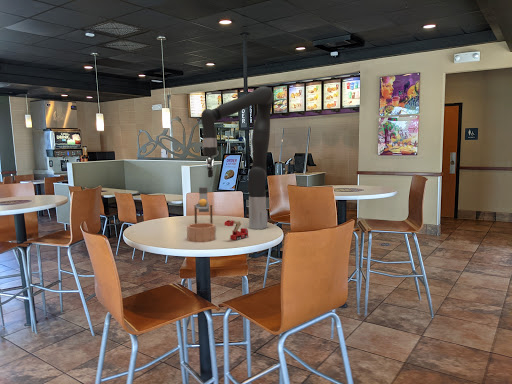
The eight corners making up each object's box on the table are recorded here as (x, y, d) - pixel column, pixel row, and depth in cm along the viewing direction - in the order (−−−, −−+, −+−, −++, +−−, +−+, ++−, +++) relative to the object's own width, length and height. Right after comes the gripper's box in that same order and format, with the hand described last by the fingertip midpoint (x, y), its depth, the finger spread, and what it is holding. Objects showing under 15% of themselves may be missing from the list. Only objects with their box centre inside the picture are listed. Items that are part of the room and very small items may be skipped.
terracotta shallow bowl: (220, 237, 185) (220, 224, 184) (203, 243, 174) (203, 229, 173) (199, 234, 191) (199, 222, 191) (181, 239, 180) (181, 226, 180)
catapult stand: (193, 229, 205) (192, 203, 204) (215, 229, 206) (215, 203, 204) (190, 235, 191) (190, 207, 190) (214, 234, 192) (214, 206, 190)
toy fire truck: (249, 237, 186) (249, 217, 185) (229, 242, 176) (229, 221, 175) (243, 236, 188) (243, 216, 187) (224, 241, 178) (224, 220, 177)
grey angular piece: (198, 211, 204) (198, 187, 204) (210, 211, 205) (210, 186, 205) (195, 213, 186) (195, 186, 186) (208, 213, 186) (208, 186, 186)
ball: (208, 206, 195) (208, 198, 195) (203, 206, 191) (203, 198, 192) (202, 207, 197) (202, 199, 197) (197, 206, 193) (197, 198, 194)
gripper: (203, 146, 216) (204, 176, 218) (202, 146, 202) (202, 177, 203) (217, 146, 217) (217, 176, 218) (216, 146, 202) (216, 177, 204)
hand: (210, 176), depth 211 cm, fingers open, 7 cm apart
